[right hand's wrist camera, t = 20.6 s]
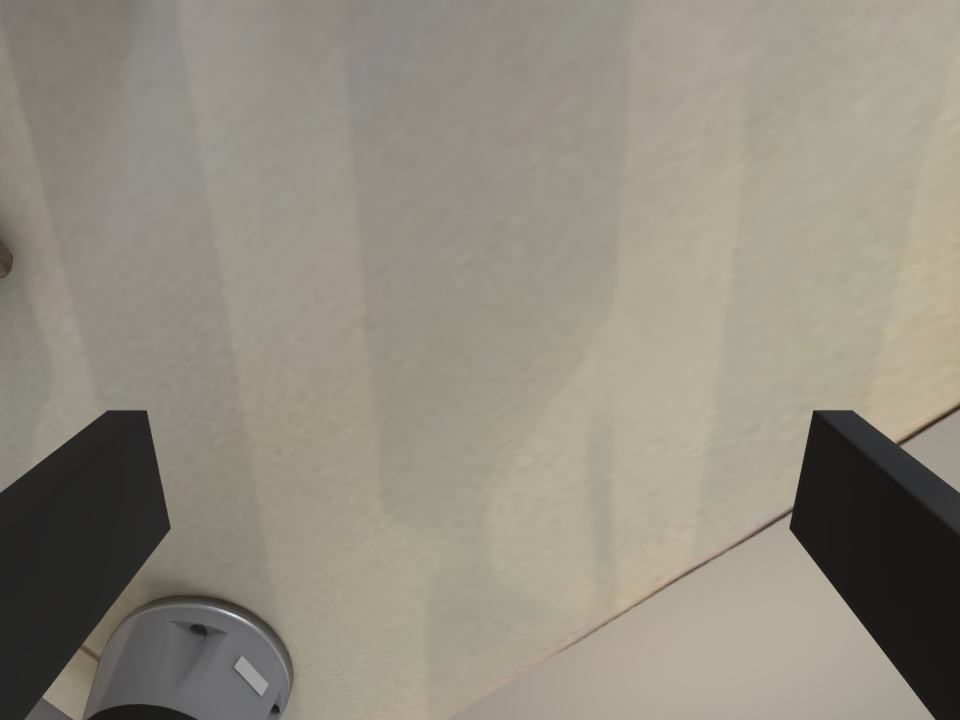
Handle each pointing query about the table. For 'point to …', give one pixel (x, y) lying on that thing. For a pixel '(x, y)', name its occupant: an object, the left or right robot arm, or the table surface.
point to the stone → (5, 261)
